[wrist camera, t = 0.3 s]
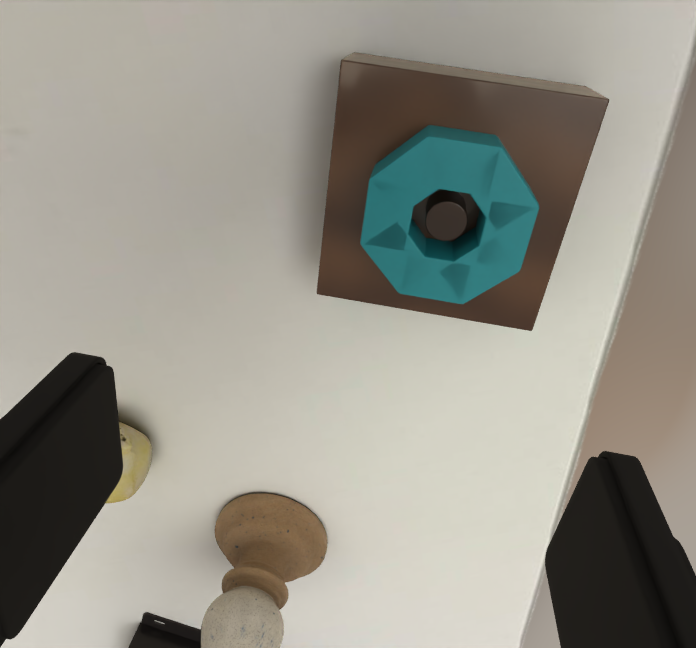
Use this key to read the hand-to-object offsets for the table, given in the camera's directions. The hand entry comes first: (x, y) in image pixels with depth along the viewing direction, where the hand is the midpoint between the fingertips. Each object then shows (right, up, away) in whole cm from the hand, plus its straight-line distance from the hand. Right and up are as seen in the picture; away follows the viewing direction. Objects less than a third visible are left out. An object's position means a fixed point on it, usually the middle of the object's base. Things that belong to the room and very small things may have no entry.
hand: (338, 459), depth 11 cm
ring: (+5, +8, +15) cm, 17 cm away
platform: (+5, +10, +18) cm, 21 cm away
